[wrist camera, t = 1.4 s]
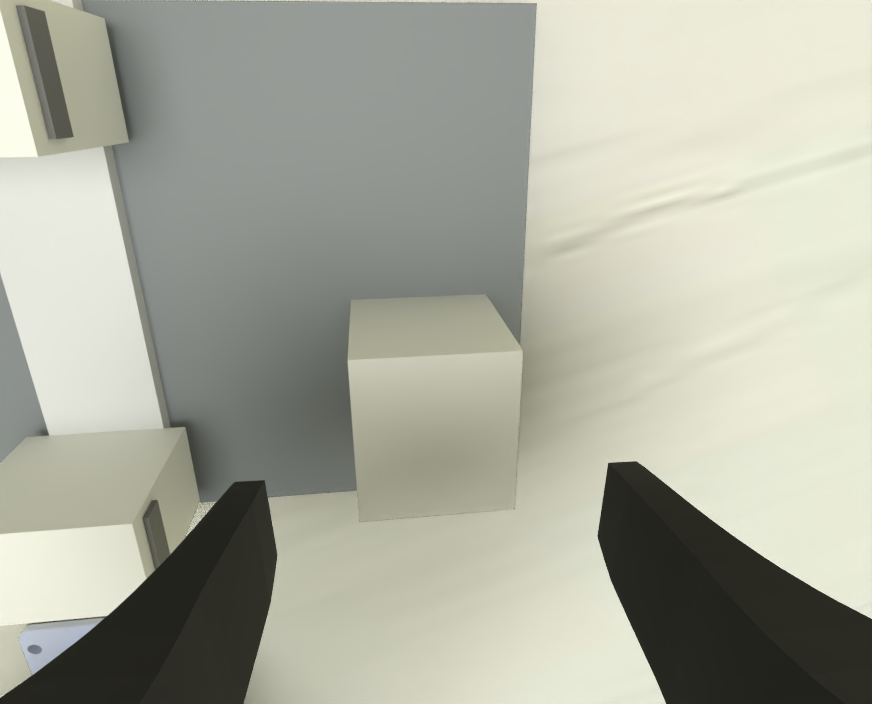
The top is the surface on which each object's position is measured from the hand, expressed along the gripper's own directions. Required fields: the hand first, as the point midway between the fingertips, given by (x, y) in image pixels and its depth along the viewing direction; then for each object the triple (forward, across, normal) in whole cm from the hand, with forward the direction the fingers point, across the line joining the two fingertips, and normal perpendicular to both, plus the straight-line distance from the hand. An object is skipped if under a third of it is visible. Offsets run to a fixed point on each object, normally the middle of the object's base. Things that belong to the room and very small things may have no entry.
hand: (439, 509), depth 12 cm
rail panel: (+10, +7, -2) cm, 12 cm away
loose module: (+9, 0, +1) cm, 9 cm away
